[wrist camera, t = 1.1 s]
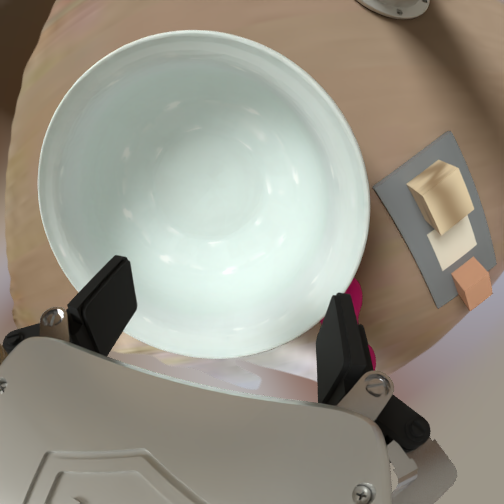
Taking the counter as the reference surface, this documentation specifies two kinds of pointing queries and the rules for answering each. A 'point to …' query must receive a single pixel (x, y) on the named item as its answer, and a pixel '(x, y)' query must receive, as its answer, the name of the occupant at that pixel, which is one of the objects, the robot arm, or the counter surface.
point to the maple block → (441, 195)
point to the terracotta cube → (472, 283)
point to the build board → (424, 235)
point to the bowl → (207, 191)
